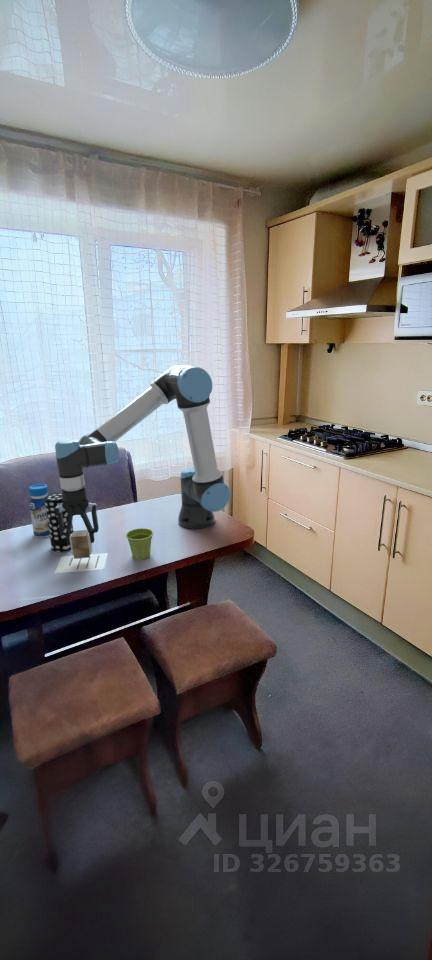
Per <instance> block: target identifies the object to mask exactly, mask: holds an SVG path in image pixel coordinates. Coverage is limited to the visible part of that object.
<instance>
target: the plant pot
mask: <svg viewBox="0 0 432 960" xmlns="http://www.w3.org/2000/svg"><path fill="white" fill-rule="evenodd" d="M153 535H154V531H153V530H152V529H150V528H146V527H145V528H143V527H141V528H135V529H130V530H129V531H128V532H126V534H125V538H127V541H128V544H129V546H130V552H131V556H132V558H133V559H134V560H140V561H141V560H144V559H149V558H150V557H151V548H152V547H151V546H152V540H153Z"/></svg>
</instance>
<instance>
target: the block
mask: <svg viewBox="0 0 432 960" xmlns="http://www.w3.org/2000/svg"><path fill="white" fill-rule="evenodd" d="M87 534H88V530H87V529H82V530H73V533H72V536H71V541H72V548H73V554H74V555H73V556H74V559H78V558H89V557H90V554H92V553H89V546H88V539H87Z"/></svg>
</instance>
